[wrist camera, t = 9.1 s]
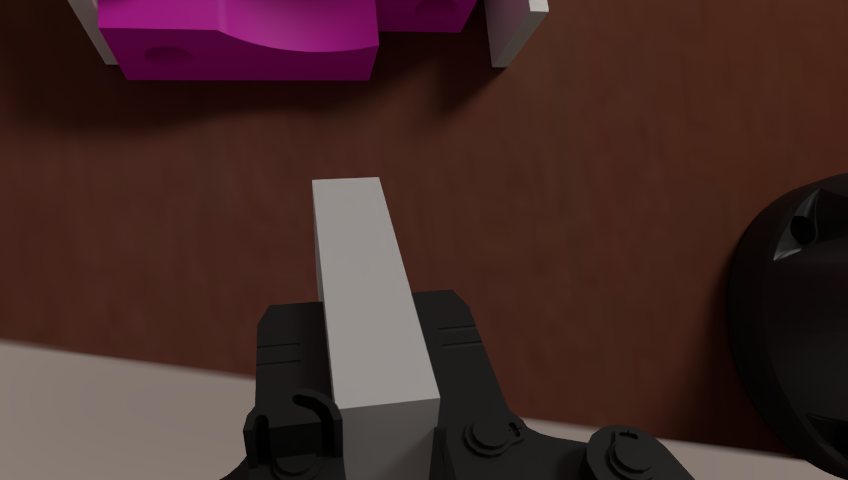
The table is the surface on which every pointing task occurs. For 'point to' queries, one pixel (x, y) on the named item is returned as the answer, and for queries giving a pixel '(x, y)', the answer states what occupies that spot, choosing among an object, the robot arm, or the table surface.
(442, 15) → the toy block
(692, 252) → the table surface
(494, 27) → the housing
